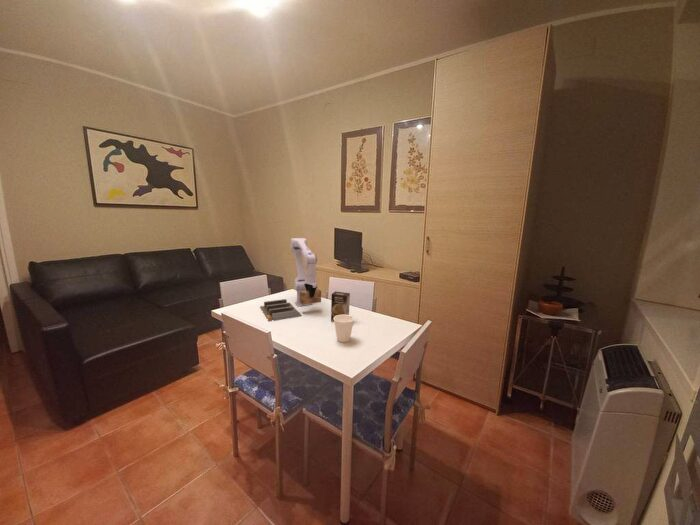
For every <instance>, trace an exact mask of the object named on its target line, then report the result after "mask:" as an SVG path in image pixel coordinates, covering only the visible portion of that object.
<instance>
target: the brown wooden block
mask: <svg viewBox="0 0 700 525" xmlns="http://www.w3.org/2000/svg"><path fill="white" fill-rule="evenodd" d="M300 303H301V304H302V305H303V304H311V303H312V304H317V303H322V290H321V289H318V288H317V289H316V291H315V294H314V297H312V298H310V294H309V290H308V291H300ZM312 304H311V305H312Z"/></svg>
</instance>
